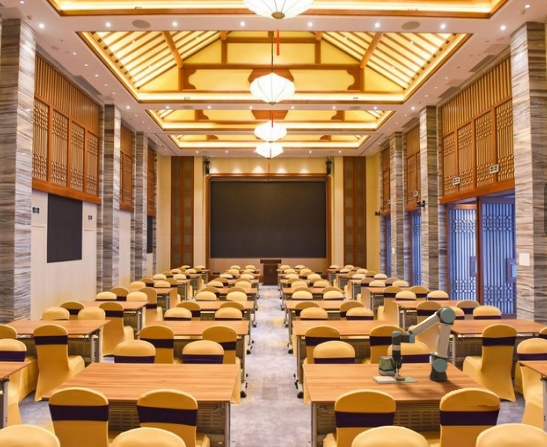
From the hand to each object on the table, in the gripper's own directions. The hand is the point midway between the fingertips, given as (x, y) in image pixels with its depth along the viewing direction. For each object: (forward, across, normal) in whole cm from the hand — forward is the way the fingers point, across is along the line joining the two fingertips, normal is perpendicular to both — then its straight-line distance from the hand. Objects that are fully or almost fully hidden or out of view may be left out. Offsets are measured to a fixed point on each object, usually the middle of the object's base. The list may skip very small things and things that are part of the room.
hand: (396, 376), depth 418 cm
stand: (+3, +11, 0) cm, 11 cm away
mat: (+3, -7, 0) cm, 8 cm away
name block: (+3, -2, 0) cm, 3 cm away
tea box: (+3, -2, -22) cm, 22 cm away
